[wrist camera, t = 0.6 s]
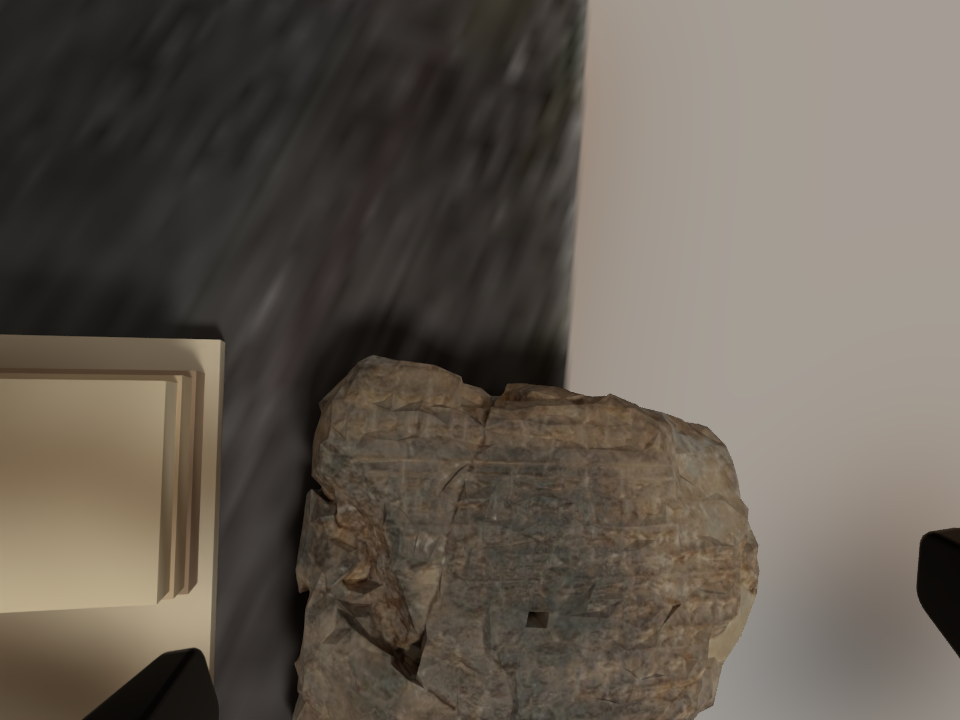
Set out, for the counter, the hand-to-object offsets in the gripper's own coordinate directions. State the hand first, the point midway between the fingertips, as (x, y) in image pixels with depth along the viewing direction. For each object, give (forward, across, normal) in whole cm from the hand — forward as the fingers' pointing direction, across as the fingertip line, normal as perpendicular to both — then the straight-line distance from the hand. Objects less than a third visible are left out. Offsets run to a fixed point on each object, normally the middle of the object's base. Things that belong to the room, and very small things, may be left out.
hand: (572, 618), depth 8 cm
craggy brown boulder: (+11, +1, +11) cm, 16 cm away
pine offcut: (+9, +11, +1) cm, 14 cm away
